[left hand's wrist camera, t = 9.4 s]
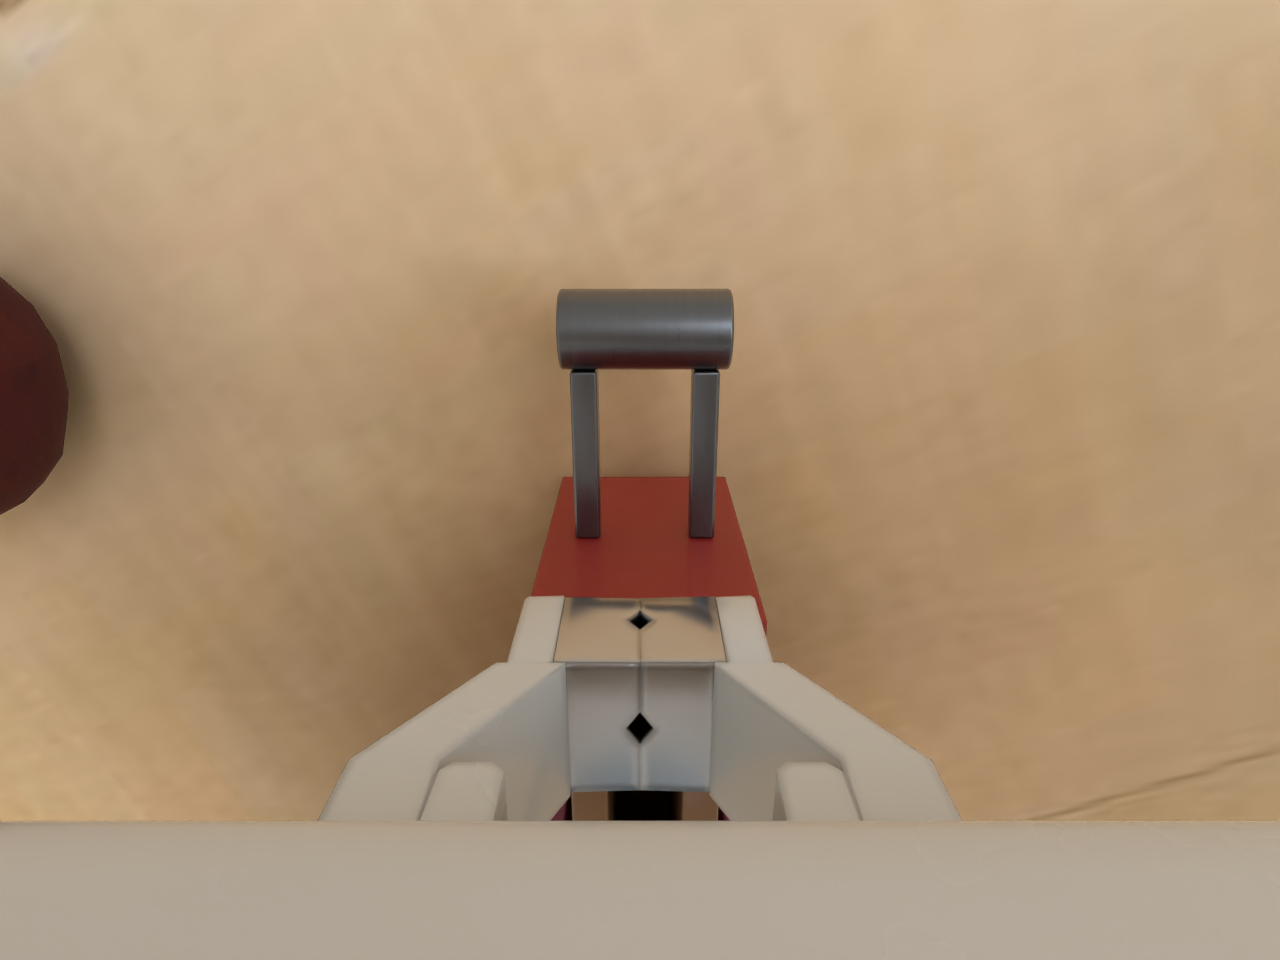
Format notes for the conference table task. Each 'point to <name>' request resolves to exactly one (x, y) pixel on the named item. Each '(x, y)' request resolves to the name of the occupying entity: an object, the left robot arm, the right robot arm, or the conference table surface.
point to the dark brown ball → (28, 400)
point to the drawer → (645, 487)
